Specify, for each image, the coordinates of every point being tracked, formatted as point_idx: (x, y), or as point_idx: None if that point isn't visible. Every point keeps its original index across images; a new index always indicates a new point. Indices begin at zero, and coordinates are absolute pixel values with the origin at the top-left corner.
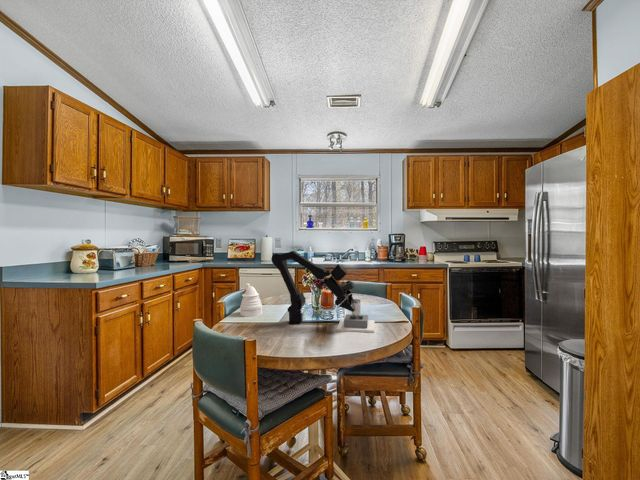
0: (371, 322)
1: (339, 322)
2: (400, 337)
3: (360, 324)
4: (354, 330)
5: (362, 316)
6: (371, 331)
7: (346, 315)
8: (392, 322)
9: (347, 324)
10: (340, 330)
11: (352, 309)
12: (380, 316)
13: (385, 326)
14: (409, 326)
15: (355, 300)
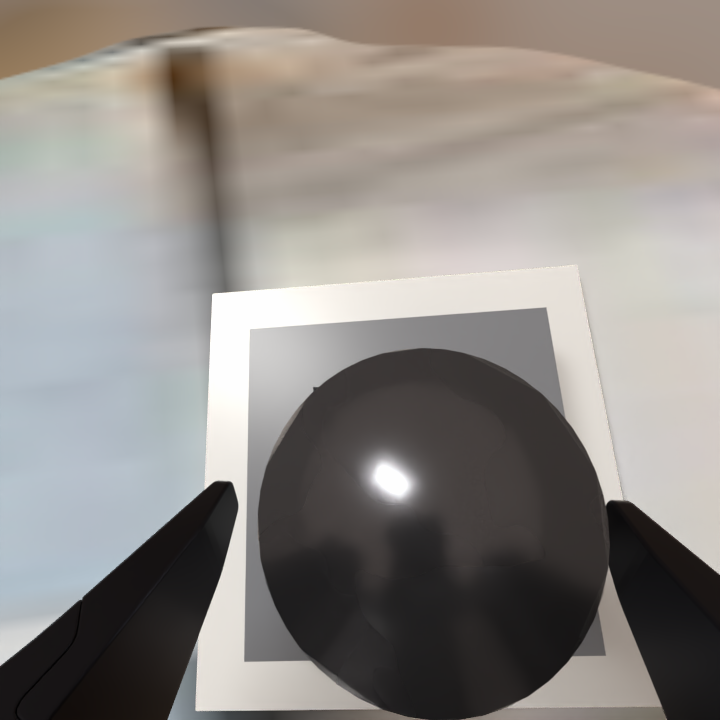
0: (301, 314)
1: (362, 709)
2: (627, 70)
3: None
4: (609, 464)
5: None
6: (575, 291)
7: None
8: (216, 154)
9: None
10: None
11: (668, 548)
12: (21, 266)
13: (349, 197)
14: (315, 33)
15: (505, 524)
